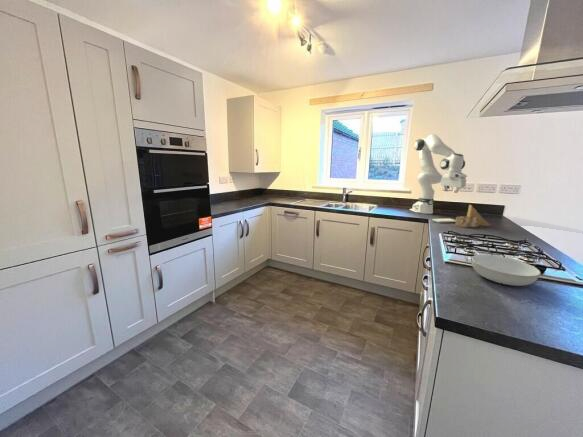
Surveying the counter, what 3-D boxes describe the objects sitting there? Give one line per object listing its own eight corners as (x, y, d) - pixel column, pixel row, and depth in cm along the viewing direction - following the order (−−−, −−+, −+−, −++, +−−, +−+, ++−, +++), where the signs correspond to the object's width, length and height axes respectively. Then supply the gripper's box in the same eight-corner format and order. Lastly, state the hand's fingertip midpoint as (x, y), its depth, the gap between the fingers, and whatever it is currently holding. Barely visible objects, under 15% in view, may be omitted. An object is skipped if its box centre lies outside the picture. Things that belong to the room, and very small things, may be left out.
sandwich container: (491, 226, 186) (495, 207, 183) (468, 224, 193) (471, 205, 189) (488, 224, 194) (492, 206, 191) (465, 221, 200) (469, 204, 197)
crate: (461, 227, 181) (462, 218, 179) (454, 225, 186) (456, 216, 184) (477, 226, 185) (479, 217, 183) (471, 224, 190) (473, 216, 188)
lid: (438, 223, 192) (439, 220, 191) (432, 221, 198) (432, 218, 198) (455, 222, 196) (456, 220, 195) (448, 220, 202) (449, 218, 202)
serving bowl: (470, 264, 112) (473, 250, 110) (532, 278, 99) (536, 263, 97) (466, 280, 96) (470, 264, 94) (540, 299, 83) (545, 281, 82)
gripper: (440, 173, 198) (437, 190, 201) (462, 175, 179) (458, 193, 182) (446, 173, 199) (443, 190, 203) (468, 175, 180) (465, 193, 183)
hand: (450, 192), depth 192 cm, fingers open, 8 cm apart
